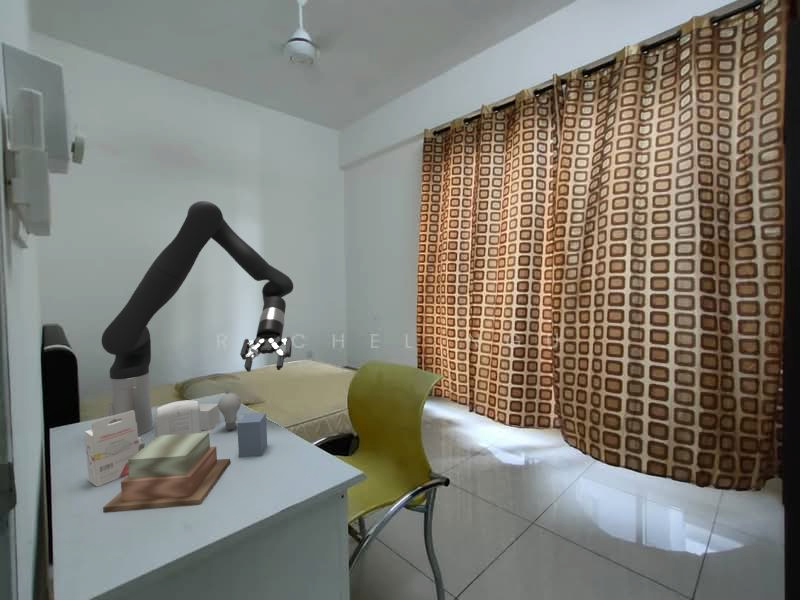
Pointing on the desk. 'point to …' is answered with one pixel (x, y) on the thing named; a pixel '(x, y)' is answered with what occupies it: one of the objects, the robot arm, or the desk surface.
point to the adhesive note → (209, 416)
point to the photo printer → (178, 418)
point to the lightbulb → (229, 409)
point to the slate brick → (252, 435)
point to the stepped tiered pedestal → (170, 473)
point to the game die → (141, 442)
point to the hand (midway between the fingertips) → (263, 369)
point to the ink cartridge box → (111, 447)
